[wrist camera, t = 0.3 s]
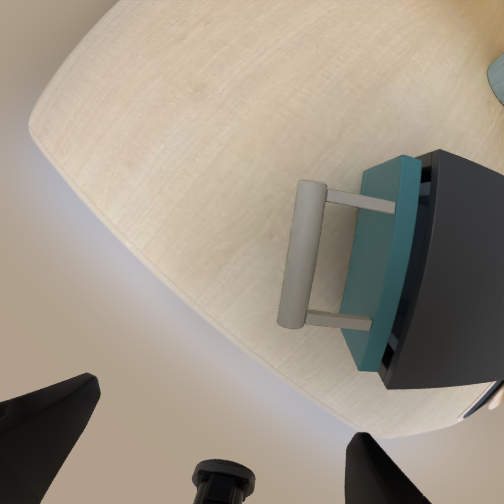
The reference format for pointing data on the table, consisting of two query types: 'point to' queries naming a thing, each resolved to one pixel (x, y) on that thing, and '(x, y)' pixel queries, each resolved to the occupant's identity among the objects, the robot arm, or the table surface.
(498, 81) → the cup
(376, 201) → the teal drawer
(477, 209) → the drawer cabinet
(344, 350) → the table surface
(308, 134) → the table surface
